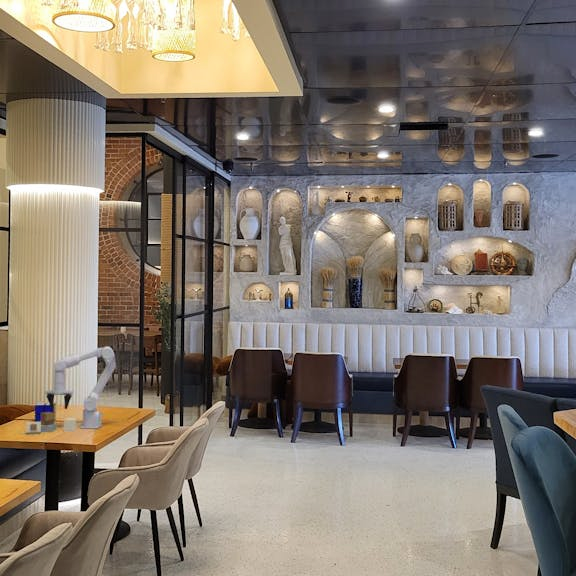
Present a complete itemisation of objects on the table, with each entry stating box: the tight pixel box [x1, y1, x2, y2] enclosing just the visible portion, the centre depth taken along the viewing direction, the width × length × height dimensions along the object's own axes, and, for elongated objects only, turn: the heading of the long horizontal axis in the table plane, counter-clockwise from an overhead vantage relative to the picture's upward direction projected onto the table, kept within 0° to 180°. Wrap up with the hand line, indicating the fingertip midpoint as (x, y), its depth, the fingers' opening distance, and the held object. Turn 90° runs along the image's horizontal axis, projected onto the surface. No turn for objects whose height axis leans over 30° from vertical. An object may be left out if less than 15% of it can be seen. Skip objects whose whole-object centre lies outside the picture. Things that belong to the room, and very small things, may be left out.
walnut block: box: [41, 412, 55, 426], centre depth 386 cm, size 5×5×6 cm
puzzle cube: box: [34, 401, 57, 422], centre depth 412 cm, size 10×10×10 cm
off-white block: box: [63, 417, 77, 432], centre depth 387 cm, size 5×5×6 cm
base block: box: [41, 422, 58, 433], centre depth 386 cm, size 8×8×4 cm
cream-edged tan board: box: [25, 421, 42, 435], centre depth 377 cm, size 7×4×6 cm, turn 107°
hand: (59, 408), depth 392 cm, fingers open, 7 cm apart
